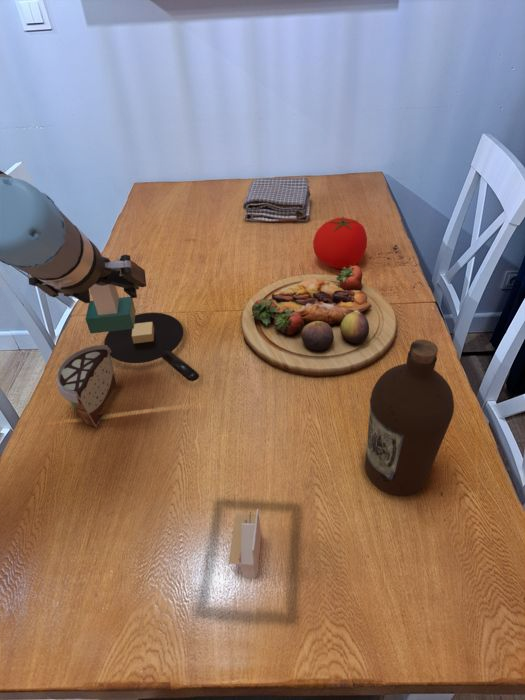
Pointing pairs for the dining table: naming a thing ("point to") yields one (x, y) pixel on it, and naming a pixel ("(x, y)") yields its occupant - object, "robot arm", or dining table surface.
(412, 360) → the brown bottle
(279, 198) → the towel
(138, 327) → the tan square block
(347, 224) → the tomato
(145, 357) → the pan
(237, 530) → the architectural model
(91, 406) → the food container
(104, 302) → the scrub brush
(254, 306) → the wooden plate
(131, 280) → the robot arm
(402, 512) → the dining table surface
